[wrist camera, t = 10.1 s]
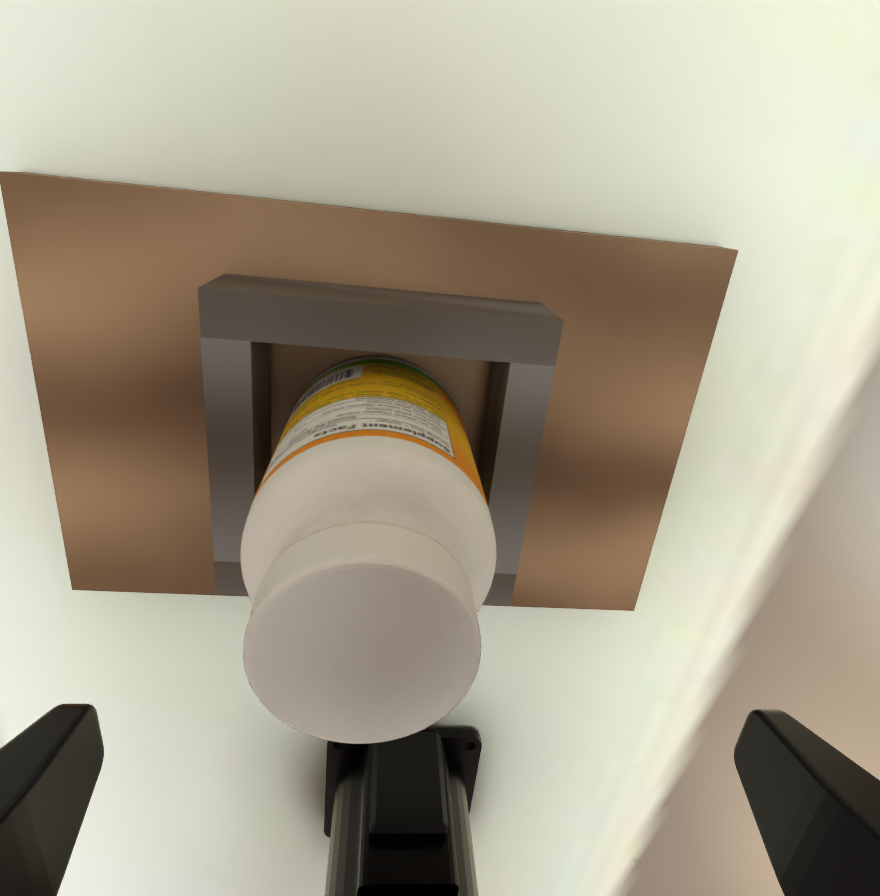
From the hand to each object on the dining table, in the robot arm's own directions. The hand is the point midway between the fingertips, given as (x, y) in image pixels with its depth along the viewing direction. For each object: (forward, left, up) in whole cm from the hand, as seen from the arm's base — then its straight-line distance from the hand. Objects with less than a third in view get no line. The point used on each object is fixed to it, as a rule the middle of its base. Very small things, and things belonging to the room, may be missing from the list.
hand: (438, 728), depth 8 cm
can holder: (-1, +1, -12) cm, 13 cm away
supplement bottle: (-1, +1, -12) cm, 12 cm away
